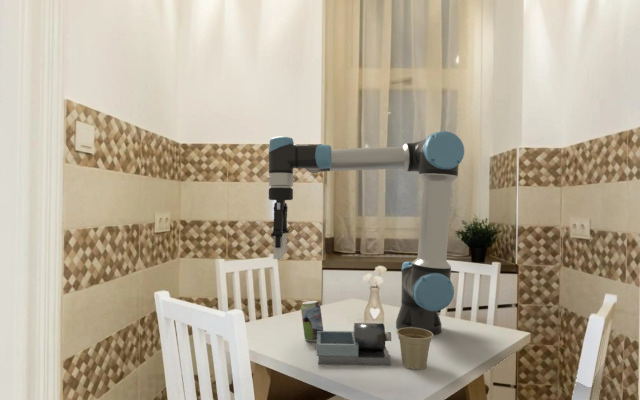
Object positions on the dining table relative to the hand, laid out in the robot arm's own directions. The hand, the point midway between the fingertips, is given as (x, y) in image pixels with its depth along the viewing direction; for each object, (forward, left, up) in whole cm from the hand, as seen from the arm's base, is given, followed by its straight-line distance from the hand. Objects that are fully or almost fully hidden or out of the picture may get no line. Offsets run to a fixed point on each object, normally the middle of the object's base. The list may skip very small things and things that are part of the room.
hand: (280, 256), depth 127 cm
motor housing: (-22, +13, -26) cm, 36 cm away
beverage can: (-10, 0, -26) cm, 28 cm away
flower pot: (-38, +19, -26) cm, 49 cm away
